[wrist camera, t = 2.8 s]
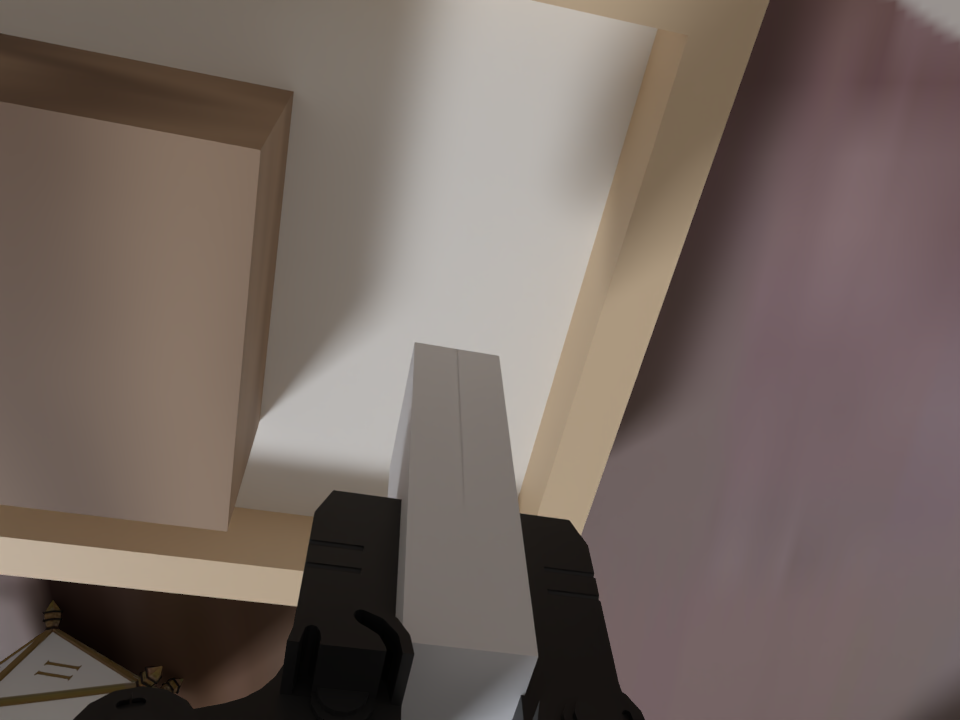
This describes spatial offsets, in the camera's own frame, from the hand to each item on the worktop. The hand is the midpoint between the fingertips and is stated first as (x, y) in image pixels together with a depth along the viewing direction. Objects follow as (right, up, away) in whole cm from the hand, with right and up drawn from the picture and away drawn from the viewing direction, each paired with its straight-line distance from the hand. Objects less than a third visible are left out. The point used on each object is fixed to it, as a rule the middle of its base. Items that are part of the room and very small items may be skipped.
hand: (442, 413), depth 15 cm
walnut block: (-8, +3, +3) cm, 9 cm away
